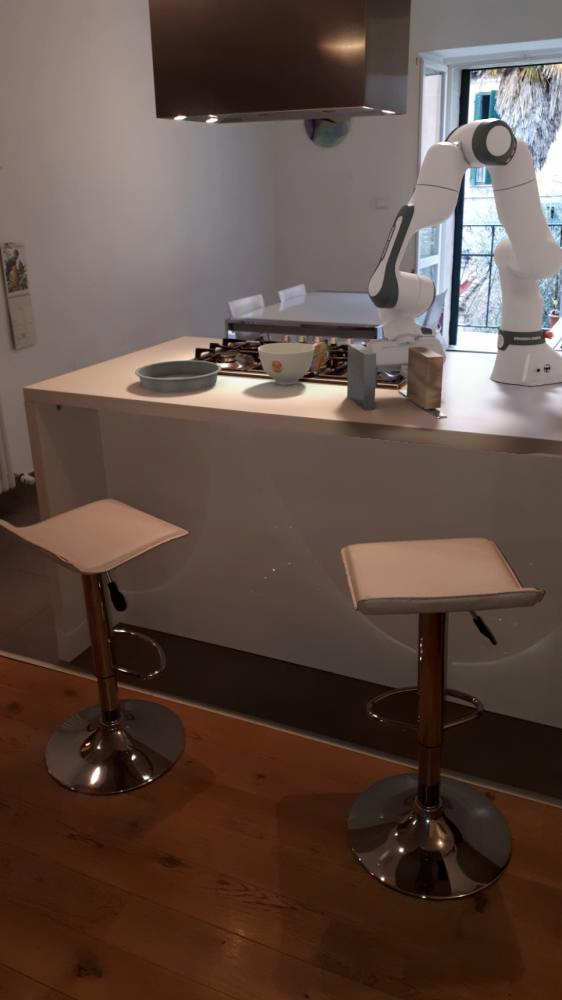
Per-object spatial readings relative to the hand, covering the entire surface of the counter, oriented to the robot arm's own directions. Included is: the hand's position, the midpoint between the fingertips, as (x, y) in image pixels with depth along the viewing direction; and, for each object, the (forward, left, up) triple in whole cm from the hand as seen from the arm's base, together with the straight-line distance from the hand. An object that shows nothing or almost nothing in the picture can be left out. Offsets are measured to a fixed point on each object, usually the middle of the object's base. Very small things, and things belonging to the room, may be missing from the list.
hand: (413, 382), depth 211 cm
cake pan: (+58, -35, -5) cm, 68 cm away
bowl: (+28, -27, -5) cm, 39 cm away
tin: (+16, -39, -5) cm, 42 cm away
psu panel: (+7, +6, -4) cm, 10 cm away
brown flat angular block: (0, +7, -4) cm, 8 cm away
